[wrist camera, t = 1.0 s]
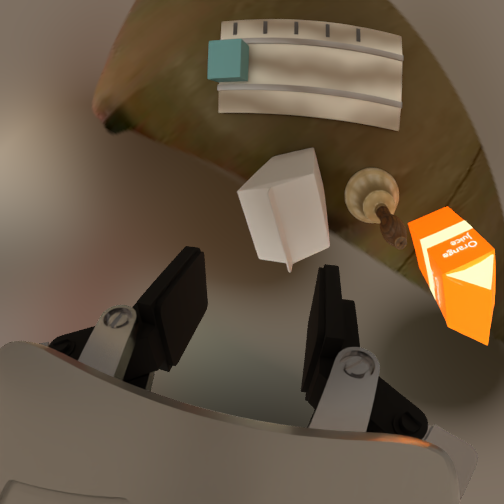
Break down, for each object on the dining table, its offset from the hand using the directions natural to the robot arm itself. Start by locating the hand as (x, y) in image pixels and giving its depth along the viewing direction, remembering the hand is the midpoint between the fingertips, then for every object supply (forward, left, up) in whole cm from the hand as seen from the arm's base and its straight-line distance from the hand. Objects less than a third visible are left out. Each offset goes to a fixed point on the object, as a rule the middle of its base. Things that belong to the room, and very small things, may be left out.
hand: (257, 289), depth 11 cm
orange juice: (+8, +23, -30) cm, 38 cm away
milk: (+1, 0, -30) cm, 30 cm away
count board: (-14, +1, -29) cm, 33 cm away
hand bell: (+3, +11, -30) cm, 32 cm away
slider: (-14, -9, -27) cm, 32 cm away
